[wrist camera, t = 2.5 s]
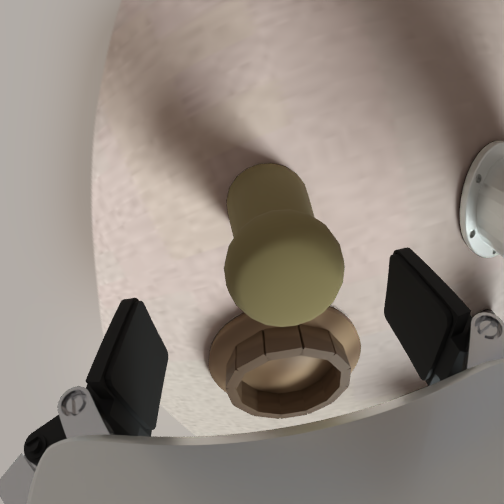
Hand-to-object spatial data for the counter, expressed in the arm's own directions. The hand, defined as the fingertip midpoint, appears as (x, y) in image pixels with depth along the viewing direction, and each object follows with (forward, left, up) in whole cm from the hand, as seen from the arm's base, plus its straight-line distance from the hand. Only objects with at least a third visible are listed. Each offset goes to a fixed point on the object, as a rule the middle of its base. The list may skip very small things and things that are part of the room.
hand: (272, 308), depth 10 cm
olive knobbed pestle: (-1, 0, -12) cm, 12 cm away
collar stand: (-9, +15, -12) cm, 21 cm away
